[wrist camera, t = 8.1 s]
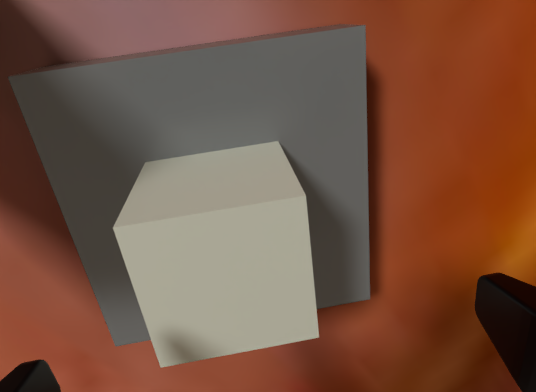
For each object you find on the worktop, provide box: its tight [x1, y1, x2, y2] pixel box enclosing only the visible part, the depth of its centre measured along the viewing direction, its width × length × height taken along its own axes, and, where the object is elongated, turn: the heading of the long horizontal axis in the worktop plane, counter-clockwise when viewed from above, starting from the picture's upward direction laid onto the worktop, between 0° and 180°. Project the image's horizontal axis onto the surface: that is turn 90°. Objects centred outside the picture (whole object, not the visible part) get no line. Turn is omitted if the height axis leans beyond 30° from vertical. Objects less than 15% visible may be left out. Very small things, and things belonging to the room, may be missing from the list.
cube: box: [113, 141, 319, 367], centre depth 13 cm, size 5×5×5 cm
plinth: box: [8, 24, 370, 346], centre depth 17 cm, size 12×12×3 cm
